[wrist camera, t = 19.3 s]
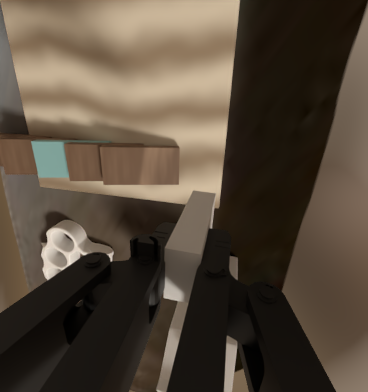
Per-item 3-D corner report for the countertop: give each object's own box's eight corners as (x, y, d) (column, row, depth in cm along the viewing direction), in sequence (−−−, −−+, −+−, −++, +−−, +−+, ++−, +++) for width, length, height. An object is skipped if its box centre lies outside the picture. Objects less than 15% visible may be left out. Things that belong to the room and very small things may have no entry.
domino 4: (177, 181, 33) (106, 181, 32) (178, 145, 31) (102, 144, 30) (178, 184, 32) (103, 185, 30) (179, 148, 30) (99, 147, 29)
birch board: (7, -4, 30) (-2, -8, 29) (241, -18, 24) (241, -24, 23) (45, 184, 40) (40, 186, 39) (219, 204, 34) (218, 208, 33)
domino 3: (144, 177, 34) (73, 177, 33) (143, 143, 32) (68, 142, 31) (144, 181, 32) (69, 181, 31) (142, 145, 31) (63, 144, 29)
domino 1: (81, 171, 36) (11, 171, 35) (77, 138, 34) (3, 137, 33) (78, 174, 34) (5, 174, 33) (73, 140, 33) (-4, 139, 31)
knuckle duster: (112, 304, 48) (51, 283, 50) (117, 232, 41) (45, 211, 43) (104, 317, 45) (38, 295, 47) (107, 242, 38) (30, 219, 40)
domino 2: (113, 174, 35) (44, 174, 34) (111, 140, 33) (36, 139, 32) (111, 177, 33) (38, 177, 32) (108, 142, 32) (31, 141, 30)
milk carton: (230, 290, 40) (224, 433, 22) (190, 281, 41) (154, 410, 24) (237, 256, 37) (237, 390, 20) (194, 247, 38) (157, 367, 21)
